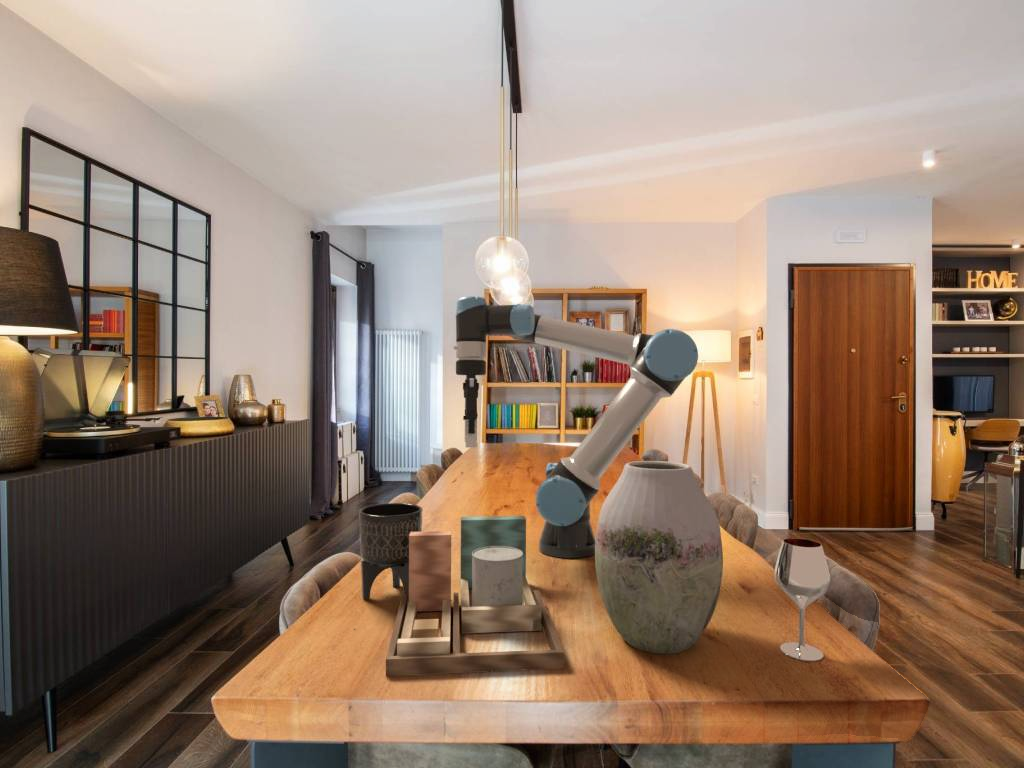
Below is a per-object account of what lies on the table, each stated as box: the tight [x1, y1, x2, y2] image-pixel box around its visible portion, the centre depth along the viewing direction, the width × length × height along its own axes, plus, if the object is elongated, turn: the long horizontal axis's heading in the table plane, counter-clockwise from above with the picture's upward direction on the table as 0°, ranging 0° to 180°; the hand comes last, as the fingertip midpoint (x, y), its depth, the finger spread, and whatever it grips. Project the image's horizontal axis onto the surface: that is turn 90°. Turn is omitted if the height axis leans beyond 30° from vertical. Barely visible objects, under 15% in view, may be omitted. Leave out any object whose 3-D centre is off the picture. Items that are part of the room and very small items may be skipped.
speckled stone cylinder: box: [471, 546, 523, 607], centre depth 108 cm, size 10×10×12 cm
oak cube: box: [412, 618, 440, 638], centre depth 96 cm, size 4×4×4 cm
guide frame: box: [385, 589, 565, 677], centre depth 101 cm, size 27×27×2 cm
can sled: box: [459, 515, 542, 634], centre depth 114 cm, size 14×26×14 cm, turn 6°
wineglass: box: [774, 537, 831, 662], centre depth 95 cm, size 8×8×18 cm
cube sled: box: [397, 530, 452, 656], centre depth 101 cm, size 8×26×14 cm, turn 6°
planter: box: [358, 502, 423, 602], centre depth 120 cm, size 13×13×18 cm
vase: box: [594, 460, 724, 655], centre depth 100 cm, size 21×21×30 cm
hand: (470, 444), depth 145 cm, fingers open, 13 cm apart
